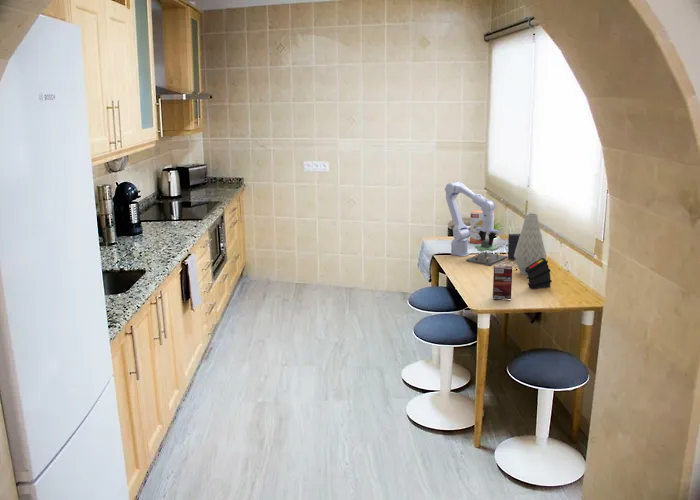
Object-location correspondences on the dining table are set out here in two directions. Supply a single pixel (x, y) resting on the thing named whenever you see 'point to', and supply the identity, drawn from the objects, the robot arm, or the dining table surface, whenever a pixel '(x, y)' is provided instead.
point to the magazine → (538, 274)
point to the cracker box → (477, 222)
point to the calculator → (512, 245)
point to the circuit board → (486, 246)
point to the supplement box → (502, 282)
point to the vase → (529, 243)
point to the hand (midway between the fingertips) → (487, 244)
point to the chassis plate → (486, 258)
